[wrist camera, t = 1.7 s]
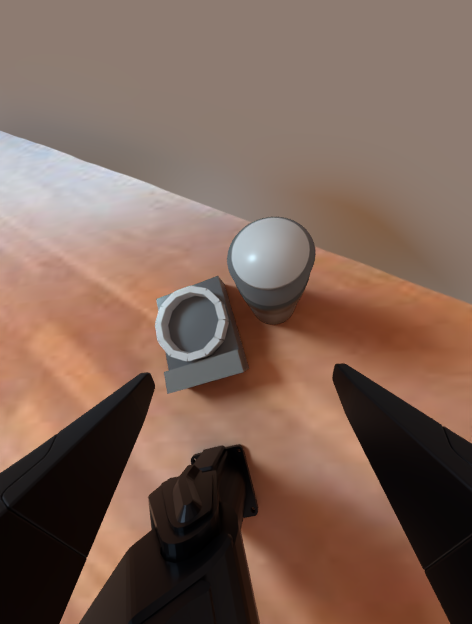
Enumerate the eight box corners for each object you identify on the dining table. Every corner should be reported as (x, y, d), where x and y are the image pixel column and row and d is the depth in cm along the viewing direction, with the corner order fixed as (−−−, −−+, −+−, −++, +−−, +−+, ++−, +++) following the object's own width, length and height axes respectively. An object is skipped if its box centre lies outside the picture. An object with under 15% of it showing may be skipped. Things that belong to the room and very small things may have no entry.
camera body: (249, 368, 22) (242, 372, 18) (185, 386, 24) (164, 394, 19) (224, 284, 26) (213, 270, 21) (169, 304, 27) (148, 295, 23)
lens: (302, 316, 22) (335, 275, 10) (258, 331, 23) (238, 309, 11) (286, 276, 24) (297, 197, 11) (245, 291, 25) (214, 232, 12)
